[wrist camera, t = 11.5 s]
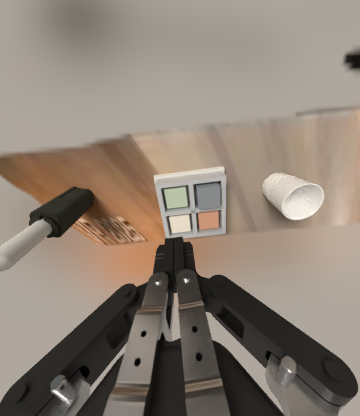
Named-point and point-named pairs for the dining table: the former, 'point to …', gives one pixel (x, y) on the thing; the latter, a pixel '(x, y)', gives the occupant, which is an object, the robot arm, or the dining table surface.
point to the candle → (46, 224)
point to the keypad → (191, 200)
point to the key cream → (180, 223)
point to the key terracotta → (208, 219)
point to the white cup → (293, 195)
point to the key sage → (176, 197)
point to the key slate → (208, 195)
